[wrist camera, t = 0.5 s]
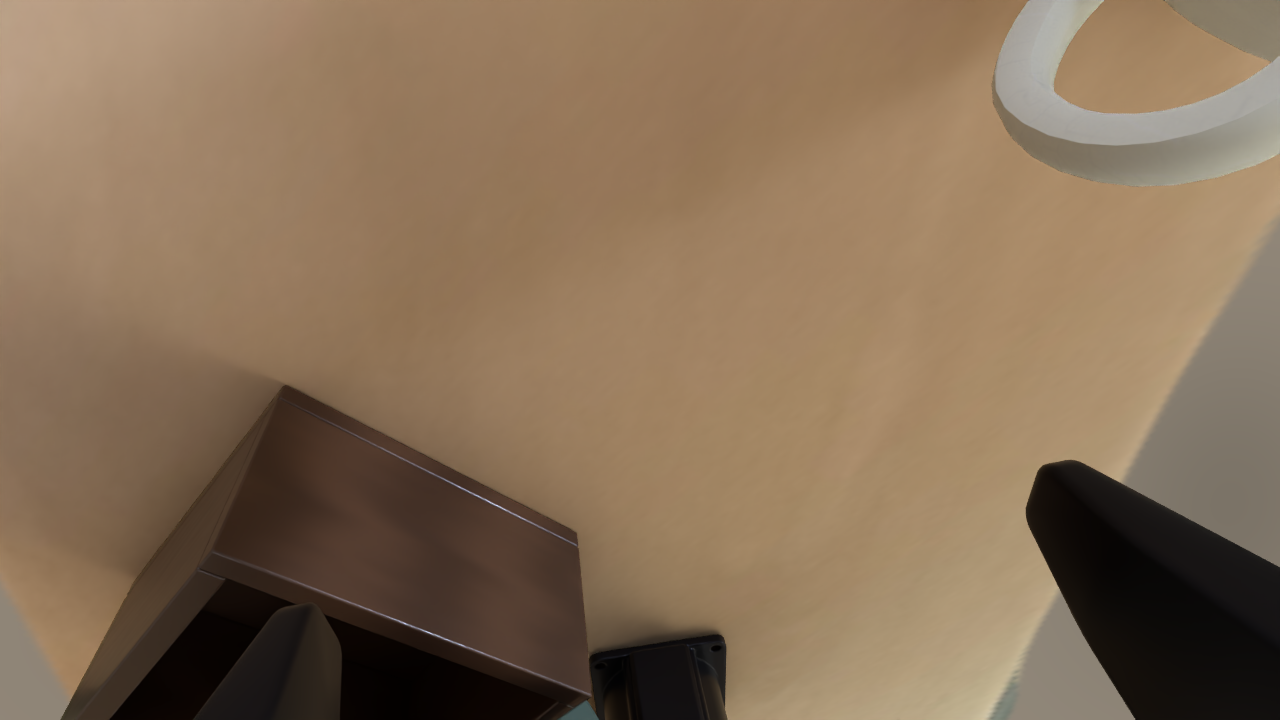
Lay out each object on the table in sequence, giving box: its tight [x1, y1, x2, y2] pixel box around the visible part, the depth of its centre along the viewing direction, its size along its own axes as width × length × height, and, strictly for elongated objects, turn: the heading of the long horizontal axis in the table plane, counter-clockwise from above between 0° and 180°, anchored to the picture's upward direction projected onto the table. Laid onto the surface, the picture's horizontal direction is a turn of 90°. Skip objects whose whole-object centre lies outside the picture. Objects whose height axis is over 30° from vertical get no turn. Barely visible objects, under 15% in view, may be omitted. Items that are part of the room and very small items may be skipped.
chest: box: [61, 386, 592, 720], centre depth 27 cm, size 13×12×7 cm
